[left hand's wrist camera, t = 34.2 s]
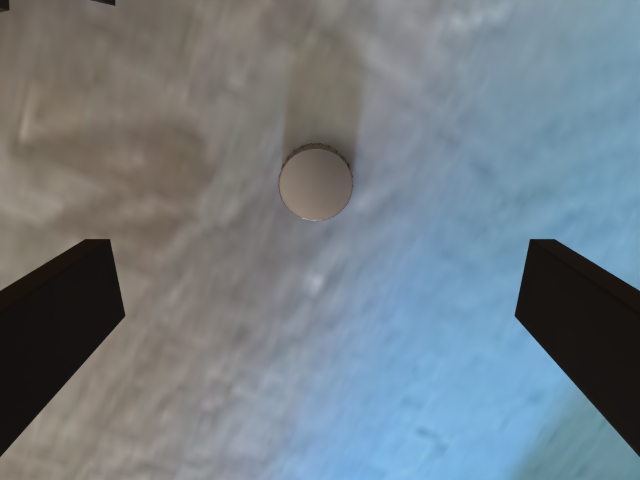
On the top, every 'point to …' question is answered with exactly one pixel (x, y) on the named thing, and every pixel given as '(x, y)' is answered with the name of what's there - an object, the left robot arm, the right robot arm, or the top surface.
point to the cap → (315, 182)
